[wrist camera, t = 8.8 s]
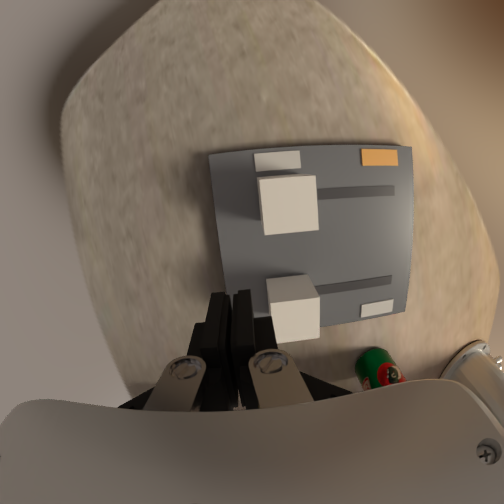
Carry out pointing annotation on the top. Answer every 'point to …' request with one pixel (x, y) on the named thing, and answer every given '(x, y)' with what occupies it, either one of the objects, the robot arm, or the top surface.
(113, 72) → the top surface
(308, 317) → the back slider
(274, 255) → the switch panel
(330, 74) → the top surface
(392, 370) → the soda can
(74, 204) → the top surface
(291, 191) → the front slider
